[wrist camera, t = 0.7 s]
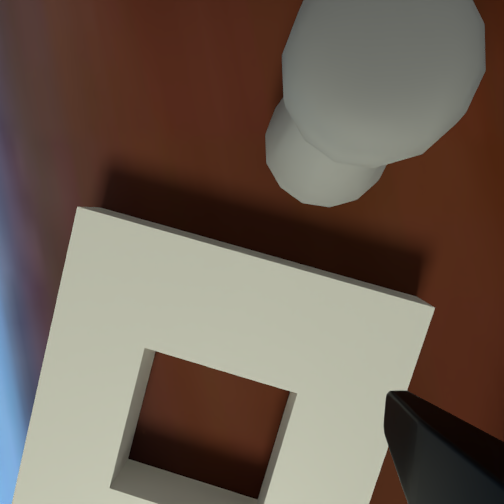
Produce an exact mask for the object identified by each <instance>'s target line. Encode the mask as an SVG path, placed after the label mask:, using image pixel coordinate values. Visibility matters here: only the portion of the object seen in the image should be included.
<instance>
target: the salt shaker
mask: <svg viewBox="0 0 504 504" xmlns="http://www.w3.org/2000/svg"><path fill="white" fill-rule="evenodd" d="M282 72H283V96H284V97H283V98H282V100H281V101H280V102H279V104H278V105H277V106H276V108H275V110H274V113H273V116H272V118H271V121H270V124H269V127H268V129H267V132H266V135H265V137H266V163H267V165H268V167H269V168H270V170H271V172H272V173H273V175H274V177H275V179H276V180H277V182H278V184H279V186H280V187H281V188H282V189H284V190H285V191H286V192H288V193H289V194H291V195H292V196H293V197H295V198H296V199H297V200H299V201H300V202H301V203H305V204H312V205H318V206H325V207H333V206H336V205H340V204H343V203H347V202H350V201H354V200H357V199H358V198H359V197H360V196H362V195H363V194H364V193H365V192H366V191H367V190H368V189H369V188H371V187H372V186H373V185H374V184H375V183H376V182H377V181H378V180H379V179H380V177H381V175H382V173H383V171H384V169H385V167H386V165H387V164H390V163H393V162H397V161H400V160H403V159H407V158H410V157H414V156H417V155H421V154H423V153H424V152H425V151H426V150H427V149H428V148H429V147H431V146H432V145H433V144H434V143H435V142H436V141H437V140H438V139H440V138H441V137H442V136H443V135H444V134H445V133H446V132H447V131H448V130H450V129H451V128H452V127H453V126H454V125H455V124H456V123H457V122H458V121H459V120H460V119H461V118H462V117H463V115H464V114H465V113H466V111H467V109H468V107H469V105H470V102H471V100H472V98H473V96H474V94H475V92H476V90H477V88H478V85H479V83H480V81H481V79H482V77H483V75H484V73H485V25H484V22H483V20H482V18H481V16H480V14H479V12H478V10H477V8H476V6H475V4H474V2H473V0H304V1H303V3H302V5H301V7H300V10H299V12H298V14H297V17H296V20H295V22H294V25H293V28H292V30H291V33H290V36H289V38H288V41H287V43H286V46H285V49H284V51H283V54H282Z"/></svg>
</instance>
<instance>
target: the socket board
mask: <svg viewBox="0 0 504 504" xmlns="http://www.w3.org/2000/svg"><path fill="white" fill-rule="evenodd" d="M434 309H435V307H433V306H431V305H430V304H428V303H426V302H425V301H423V300H421V299H420V298H418V297H416V296H413V295H409V294H406V293H402V292H399V291H395V290H391V289H388V288H384V287H381V286H377V285H374V284H370V283H367V282H363V281H360V280H356V279H352V278H349V277H345V276H342V275H338V274H335V273H331V272H328V271H324V270H321V269H317V268H313V267H310V266H306V265H303V264H299V263H296V262H292V261H289V260H285V259H281V258H278V257H274V256H271V255H267V254H264V253H260V252H257V251H253V250H250V249H246V248H242V247H239V246H235V245H232V244H228V243H225V242H221V241H218V240H214V239H211V238H207V237H203V236H200V235H196V234H193V233H189V232H186V231H182V230H179V229H175V228H172V227H168V226H164V225H161V224H157V223H154V222H150V221H147V220H143V219H140V218H136V217H133V216H129V215H125V214H122V213H118V212H115V211H111V210H108V209H104V208H99V207H77V211H76V215H75V220H74V224H73V229H72V233H71V238H70V243H69V247H68V252H67V256H66V261H65V265H64V270H63V274H62V279H61V283H60V288H59V292H58V297H57V301H56V306H55V311H54V315H53V320H52V324H51V329H50V333H49V338H48V342H47V347H46V351H45V356H44V360H43V365H42V369H41V374H40V379H39V383H38V388H37V392H36V397H35V401H34V406H33V410H32V415H31V419H30V424H29V428H28V433H27V437H26V442H25V447H24V451H23V456H22V460H21V465H20V469H19V474H18V478H17V483H16V487H15V492H14V496H13V501H12V504H369V502H370V499H371V496H372V493H373V490H374V487H375V484H376V481H377V478H378V475H379V472H380V469H381V466H382V463H383V460H384V457H385V454H386V452H387V449H388V443H387V441H386V438H385V434H384V426H383V424H384V412H385V401H386V395H387V393H388V392H389V391H396V390H405V391H407V389H408V386H409V383H410V380H411V377H412V374H413V371H414V368H415V365H416V362H417V359H418V357H419V354H420V351H421V348H422V345H423V342H424V339H425V336H426V333H427V330H428V327H429V324H430V321H431V318H432V315H433V312H434ZM155 351H157V352H161V353H164V354H167V355H171V356H174V357H177V358H181V359H184V360H187V361H191V362H194V363H197V364H201V365H204V366H207V367H211V368H214V369H217V370H221V371H224V372H227V373H231V374H234V375H237V376H241V377H244V378H247V379H251V380H254V381H257V382H261V383H264V384H267V385H271V386H274V387H277V388H281V389H284V390H287V391H290V394H289V397H288V400H287V404H286V407H285V410H284V414H283V417H282V420H281V424H280V427H279V430H278V434H277V437H276V440H275V444H274V447H273V450H272V454H271V457H270V460H269V464H268V467H267V470H266V474H265V477H264V480H263V484H262V487H261V490H260V494H259V497H258V500H257V499H254V498H251V497H248V496H245V495H242V494H238V493H235V492H232V491H229V490H226V489H223V488H219V487H216V486H213V485H210V484H207V483H204V482H200V481H197V480H194V479H191V478H188V477H184V476H181V475H178V474H175V473H172V472H169V471H165V470H162V469H159V468H156V467H153V466H150V465H146V464H143V463H140V462H137V461H134V460H131V459H128V457H129V453H130V449H131V446H132V442H133V438H134V434H135V430H136V426H137V422H138V418H139V414H140V410H141V406H142V402H143V398H144V394H145V391H146V387H147V383H148V379H149V375H150V371H151V367H152V363H153V359H154V355H155Z"/></svg>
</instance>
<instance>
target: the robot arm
mask: <svg viewBox="0 0 504 504" xmlns="http://www.w3.org/2000/svg"><path fill="white" fill-rule="evenodd" d="M383 426H384V434H385V438H386V441H387V443H388V446H389V449H390V452H391V455H392V458H393V461H394V464H395V467H396V470H397V473H398V476H399V479H400V482H401V485H402V488H403V491H404V493H405V496H406V499H407V502H408V504H504V442H503V441H501V440H499V439H497V438H495V437H493V436H491V435H490V434H488V433H486V432H484V431H482V430H480V429H478V428H476V427H474V426H473V425H471V424H469V423H467V422H465V421H463V420H461V419H459V418H458V417H456V416H454V415H452V414H450V413H448V412H446V411H444V410H442V409H441V408H439V407H437V406H435V405H433V404H431V403H429V402H427V401H426V400H424V399H422V398H420V397H418V396H416V395H414V394H412V393H410V392H409V391H405V390H396V391H389V392H388V393H387V395H386V401H385V412H384V424H383Z"/></svg>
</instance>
